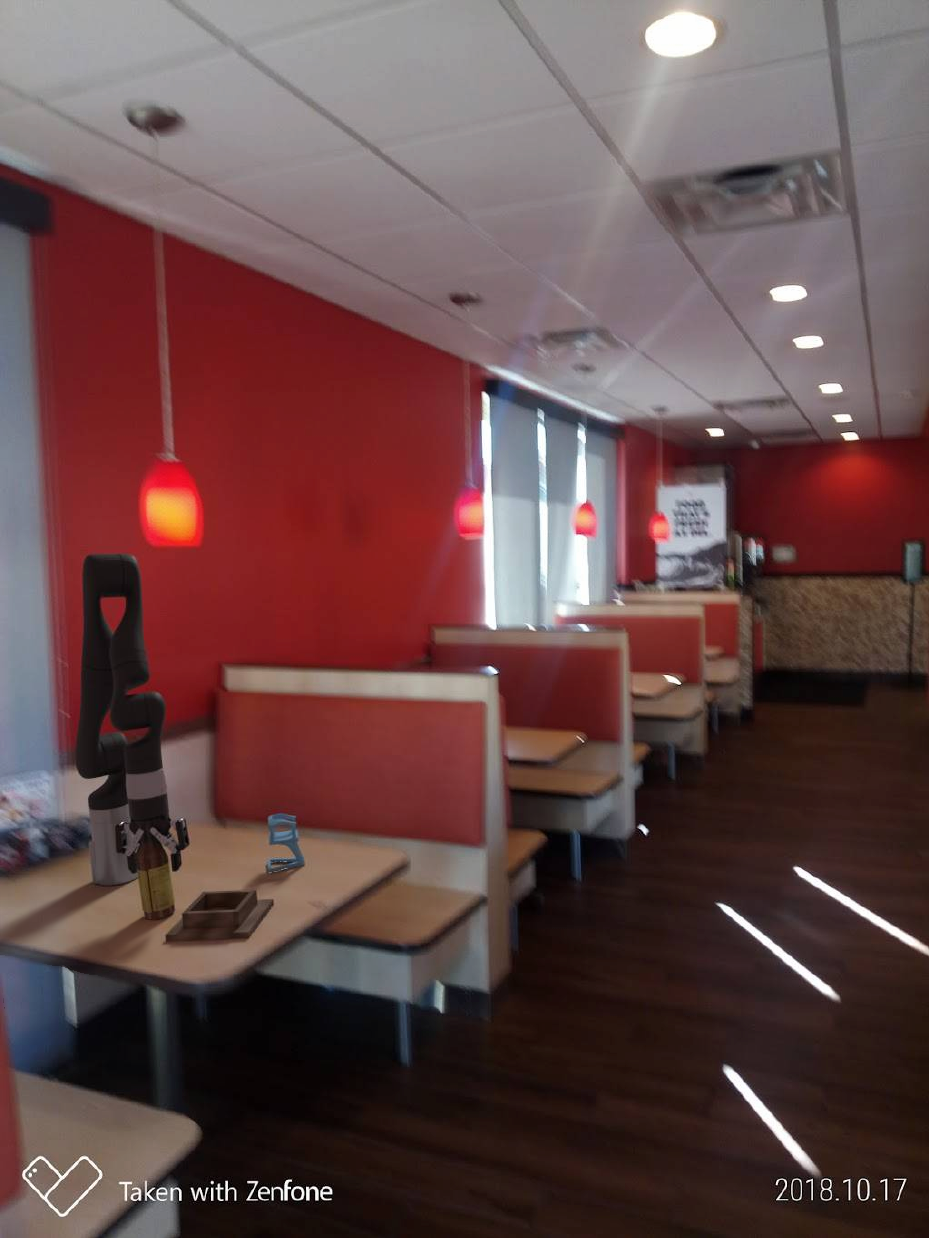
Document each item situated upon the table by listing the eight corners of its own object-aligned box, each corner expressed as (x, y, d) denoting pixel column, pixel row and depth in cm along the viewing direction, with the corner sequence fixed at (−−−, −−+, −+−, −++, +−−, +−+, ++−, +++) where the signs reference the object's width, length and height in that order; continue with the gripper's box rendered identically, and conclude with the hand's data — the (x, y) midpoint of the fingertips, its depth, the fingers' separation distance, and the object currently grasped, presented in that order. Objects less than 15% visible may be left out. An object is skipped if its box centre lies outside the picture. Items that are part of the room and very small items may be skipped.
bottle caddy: (166, 941, 176) (163, 919, 175) (197, 907, 191) (195, 887, 191) (248, 938, 174) (246, 916, 174) (274, 904, 190) (272, 884, 190)
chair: (305, 868, 210) (301, 816, 209) (267, 874, 209) (263, 821, 208) (304, 858, 218) (299, 807, 217) (267, 863, 216) (263, 812, 215)
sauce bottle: (180, 908, 192) (170, 813, 190) (168, 920, 186) (158, 822, 184) (149, 909, 193) (140, 814, 191) (136, 921, 186) (126, 824, 185)
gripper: (104, 799, 184) (113, 879, 185) (174, 795, 183) (182, 876, 184) (121, 789, 192) (129, 866, 193) (188, 785, 190) (196, 863, 191)
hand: (155, 871), depth 188 cm, fingers open, 8 cm apart
